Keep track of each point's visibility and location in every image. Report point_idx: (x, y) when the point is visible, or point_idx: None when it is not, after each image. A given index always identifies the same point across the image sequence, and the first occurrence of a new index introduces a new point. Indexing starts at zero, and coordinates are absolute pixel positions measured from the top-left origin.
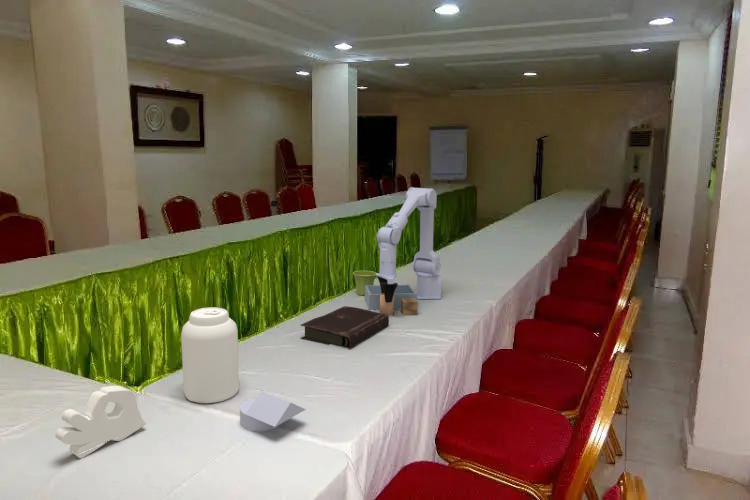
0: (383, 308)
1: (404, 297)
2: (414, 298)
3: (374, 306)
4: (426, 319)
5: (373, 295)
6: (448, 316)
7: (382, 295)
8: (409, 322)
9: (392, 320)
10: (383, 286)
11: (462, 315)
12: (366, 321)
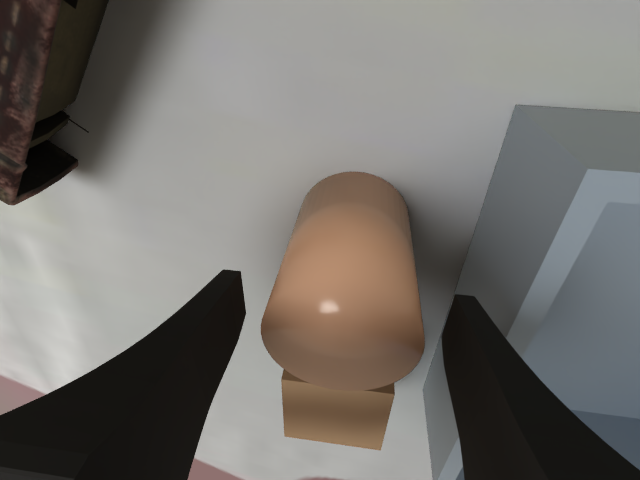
0: (300, 220)
1: (450, 414)
2: (368, 447)
3: (507, 169)
4: (230, 370)
5: (557, 218)
6: (275, 439)
7: (314, 298)
8: (172, 295)
9: (199, 222)
10: (4, 420)
11: (285, 470)
12: None
